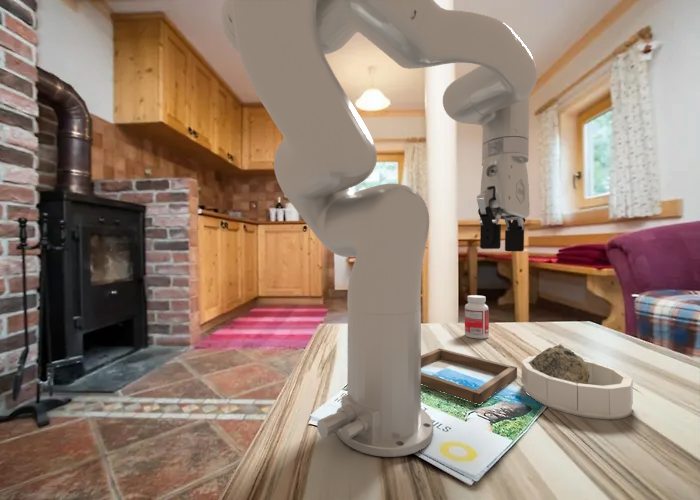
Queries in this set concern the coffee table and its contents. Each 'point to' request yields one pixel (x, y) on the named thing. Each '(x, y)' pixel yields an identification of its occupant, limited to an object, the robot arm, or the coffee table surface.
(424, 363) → the rectangular wooden frame
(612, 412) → the bowl
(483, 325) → the pill bottle
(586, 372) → the rock
